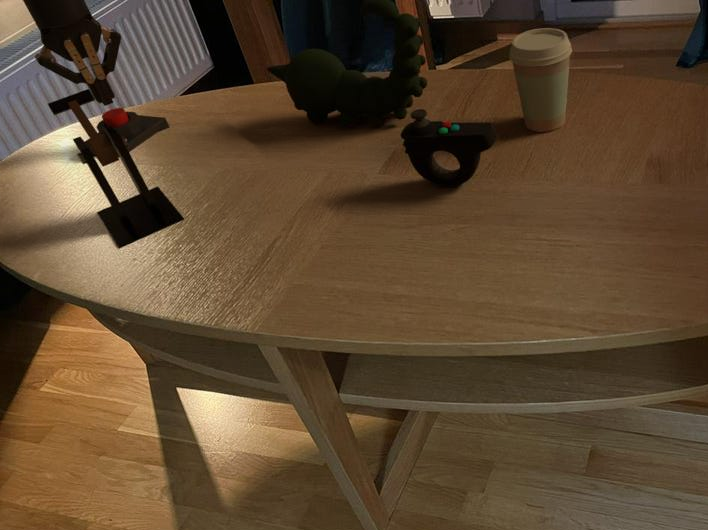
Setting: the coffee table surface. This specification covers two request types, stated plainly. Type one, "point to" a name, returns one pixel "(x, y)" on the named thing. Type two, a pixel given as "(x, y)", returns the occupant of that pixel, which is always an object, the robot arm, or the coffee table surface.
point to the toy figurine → (358, 76)
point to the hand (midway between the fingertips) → (108, 102)
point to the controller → (446, 147)
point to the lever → (86, 125)
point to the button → (115, 117)
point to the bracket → (136, 212)
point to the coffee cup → (542, 76)
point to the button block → (134, 129)
